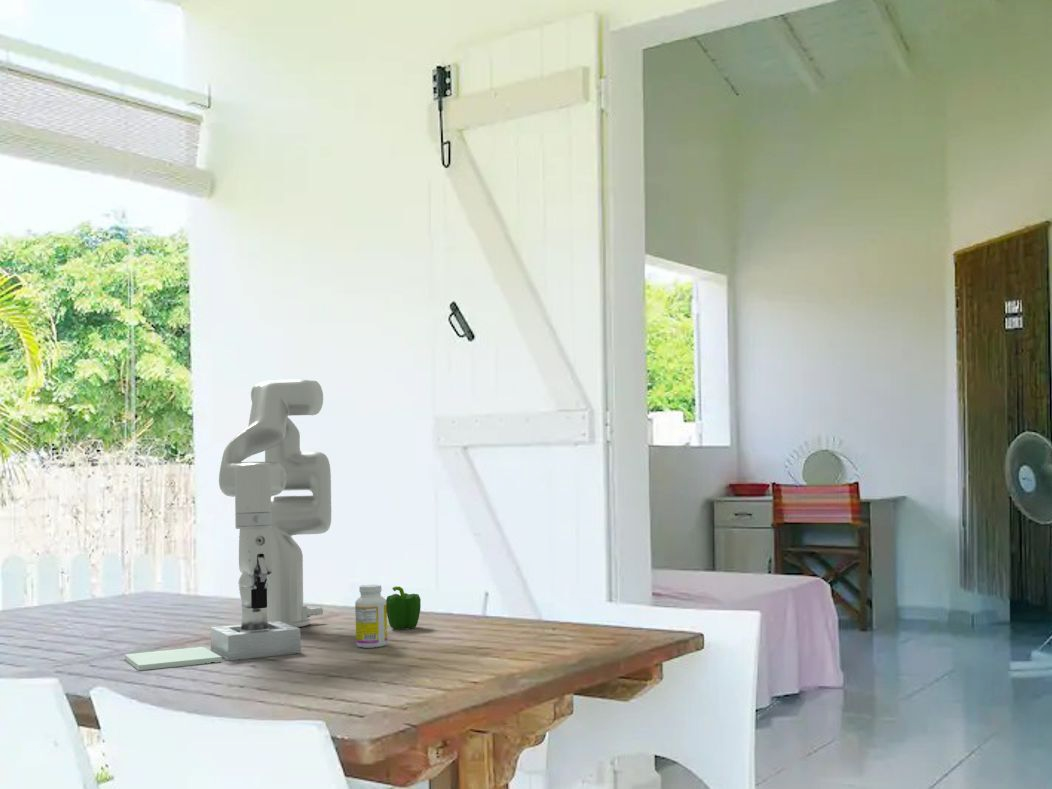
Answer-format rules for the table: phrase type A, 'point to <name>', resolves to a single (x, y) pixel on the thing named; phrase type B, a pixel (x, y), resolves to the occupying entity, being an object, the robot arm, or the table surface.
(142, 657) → the pad
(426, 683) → the table surface
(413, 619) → the bell pepper
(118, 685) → the table surface
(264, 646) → the bore block
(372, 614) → the supplement bottle
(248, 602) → the plastic bottle
